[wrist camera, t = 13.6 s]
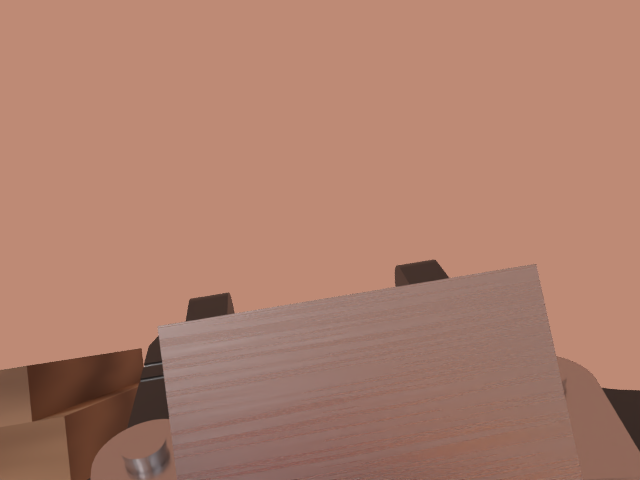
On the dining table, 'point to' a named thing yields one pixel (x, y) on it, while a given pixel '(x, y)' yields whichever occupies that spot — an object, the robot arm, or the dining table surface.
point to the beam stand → (64, 414)
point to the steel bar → (374, 387)
